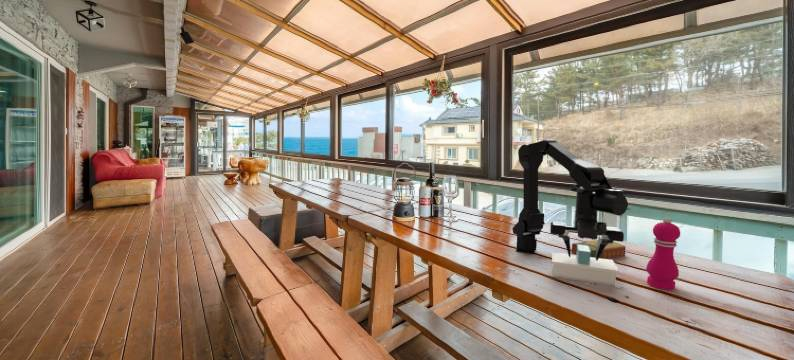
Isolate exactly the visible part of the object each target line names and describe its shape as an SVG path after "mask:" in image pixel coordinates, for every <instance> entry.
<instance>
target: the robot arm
mask: <svg viewBox="0 0 794 360" xmlns="http://www.w3.org/2000/svg"><path fill="white" fill-rule="evenodd" d="M517 155H518V162H519V164H520V166H521V167H522V169H523V189H522V190H523V192H522V193H523V197H522V198H523V200H522V201H523V205H522V206H523V207H522V210H521V211H520V212H519V215H518V221H517V223H516V224H515V225H514V226H513V227H512V228H511V229H512V234H513V235H516V247H515V252H519V253H520V252H521V253H527V254H535V251H537V247H538V246H537V244H538V243H537V242H538V239H537V237H536V236H537V235H540V234H541V232H542V229H544V225H545V224H546V223H545V217H546V216H545V213H544V212H541V211H540V209H539V168H540V166H541V165H542V163H543V161H544V156H546V155H548V156H549V157H550V158H551V159H553V160H554V161H555V162H557V163H558V164H559V165H560V166H562V167H563V168H564V169H566V171H567V172H568V174H569V177H570V178H571V180H573V181H574V182H575V185H574V186H573V187H572V188H570V191H571V192H576V195H575V196H576V199H575V214H574V226H571V225H566V223H565V222H563V221H551V223H550V226H549V227H550V228H549V229H550V234H551V235H554V236H555V235H557V236H558V238H561V239H562V240H563V242H564V244H565V246H566V251H567V254H568V255H569V257H570V256H571V255H572V253H571V239H570V238H571V237H570V233H572V234H577V237H578V238H580V239H591V240H592V241H596V240H598V244H597V250H596V261H598V259H599V257H600V255H601V253H602V251H603V250H604V248H605V247H606V245H608V244H609V243H613V242H624V239H625V233H624V232H623V231H622V229H621V228H619V227H617V226H607V222H605V221H604V222H603V221H598V212H601V213H606V214H610V215H614V216H622V215H624V214H625V213H626V211H627V210H628V207H629V202H628V199H627V197H626V196H625V195H624V190H621V189H613V187H612V186H611V184H610V182H609V180H608V178H607V177H606V174H605V170H604V169H603V167H601V166H599V165H596V164H595V163H593V162H589V161H585V160H583V159H580V158H579V157H578V156H576V155H575V154H574V153H573V152H571V151H570V150H569V149H566V148H565V147H564V146H562V145H561V144H559V142H558V141H557V140H556V139H542V140H539V141H537V142H533V143H527V144H524V143H523V144H522V145H520V147H519V148H518V152H517Z"/></svg>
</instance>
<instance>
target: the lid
mask: <svg viewBox="0 0 794 360" xmlns="http://www.w3.org/2000/svg"><path fill="white" fill-rule="evenodd" d="M590 253H591V252H590V249H589V246H586V245H577V254H576V255H575V254H571V256H570V257H569V255H568V253H560V252H553V251H552V252H551V262H552V263H551V264H552V265H553V264H556V265H563V266H570V267H577V268H584V269H591V270H598V271H605V272H612V273H616V274H619V269H618V268H617V264H616V263H615V261H614V260H613V259H610V258H606V259H601V258H599V259H598V261H596V258H593V257H590Z"/></svg>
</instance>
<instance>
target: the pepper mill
mask: <svg viewBox="0 0 794 360" xmlns="http://www.w3.org/2000/svg"><path fill="white" fill-rule="evenodd" d="M652 233H653V235H654V236H655V237H654V238H653V240H654V241H653V243H654V244H655V249H654V254H653V255H652V256H651V258H650V259H649V260H648V262H647V264H646V268H645V269H646V273H648V276H647V277H646V283H647V285H649V286H651V287H653V288H655V289H659V290H662V291H673V290H675V289H676V281H675V280H676V279H678V277H679V274H680V273H679V271H680V269H679V267H678V265H677V263H676V261H675V256H674V250H675V248H676V247H677V246H678V245H677V243H678V242H677V240H678V239H679V238H680V237H681V229H680V228H679V227H678V226H677V225H676V224H674V223H672V218H671V217H667V216H666V217H664V218H663V221H660V222H657V223H656V224H655V225H654V226H653V228H652Z"/></svg>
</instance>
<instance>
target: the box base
mask: <svg viewBox="0 0 794 360" xmlns="http://www.w3.org/2000/svg"><path fill="white" fill-rule="evenodd" d="M552 277H553V278H560V279H566V280H573V281H578V282H585V283H591V284H597V285H604V286H610V287H615V286H616V278H617V273H612V272H605V271H598V270H591V269H584V268H577V267H570V266H563V265H556V264H552Z"/></svg>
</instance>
